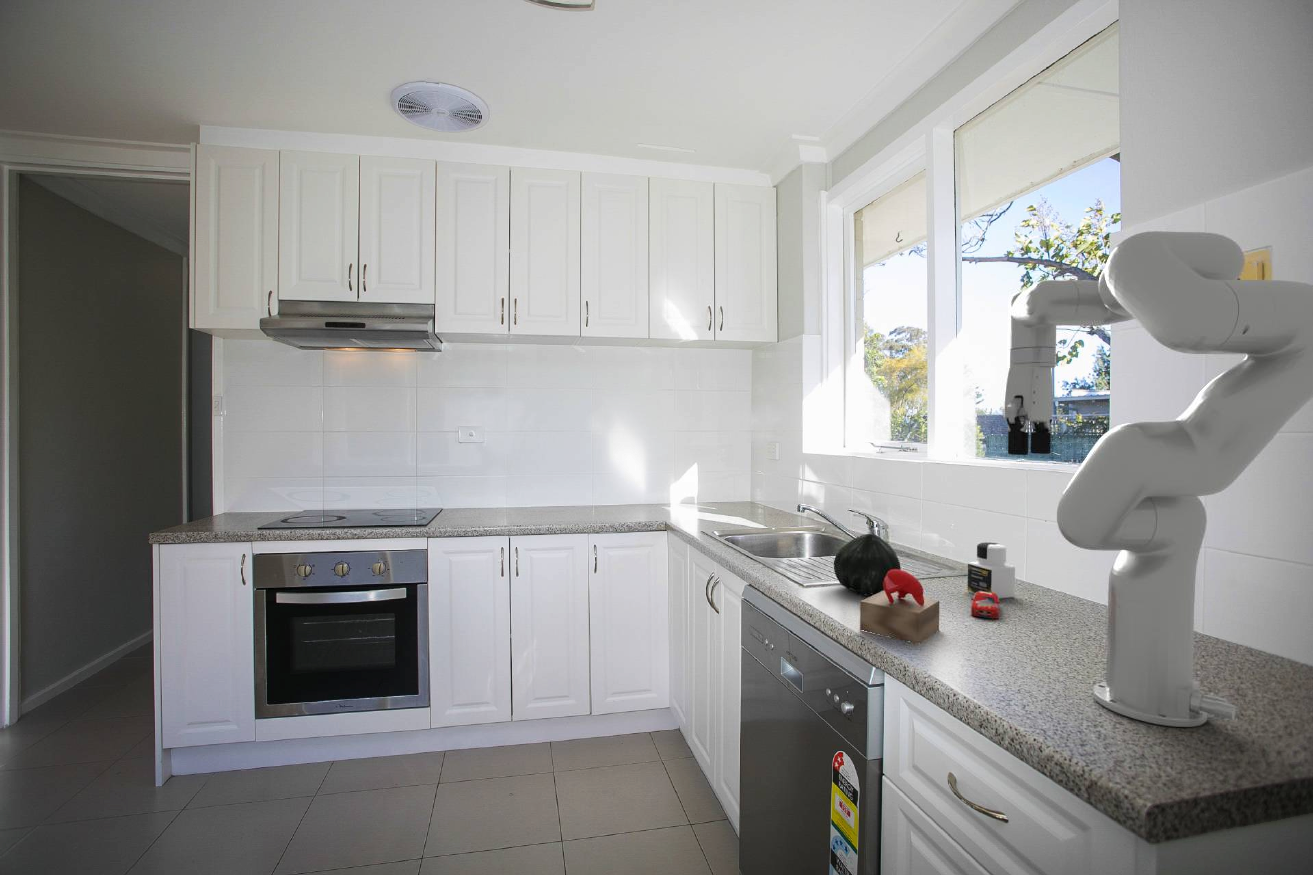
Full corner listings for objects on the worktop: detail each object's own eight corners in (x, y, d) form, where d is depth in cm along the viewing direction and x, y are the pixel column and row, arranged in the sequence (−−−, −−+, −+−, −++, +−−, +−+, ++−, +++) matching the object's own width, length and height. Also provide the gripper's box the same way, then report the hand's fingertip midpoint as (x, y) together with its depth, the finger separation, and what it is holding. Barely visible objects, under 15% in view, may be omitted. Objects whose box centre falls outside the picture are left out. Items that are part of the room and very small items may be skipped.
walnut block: (939, 631, 123) (939, 600, 123) (918, 645, 115) (919, 612, 115) (882, 619, 130) (883, 590, 130) (859, 632, 122) (860, 601, 122)
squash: (855, 558, 163) (840, 518, 155) (914, 569, 154) (902, 527, 145) (834, 602, 156) (818, 563, 148) (896, 617, 146) (881, 576, 138)
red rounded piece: (873, 584, 121) (900, 573, 118) (882, 569, 126) (907, 557, 122) (900, 619, 121) (927, 608, 117) (907, 602, 125) (933, 591, 122)
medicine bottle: (966, 591, 152) (967, 541, 151) (990, 589, 154) (991, 540, 154) (990, 599, 145) (991, 547, 145) (1015, 597, 147) (1016, 545, 147)
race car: (999, 623, 129) (999, 603, 128) (969, 618, 131) (969, 599, 131) (1001, 606, 140) (1001, 588, 140) (973, 603, 143) (974, 585, 143)
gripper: (1028, 364, 124) (1027, 452, 124) (988, 358, 113) (986, 454, 113) (1072, 361, 118) (1070, 454, 118) (1034, 354, 107) (1032, 456, 107)
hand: (1029, 454), depth 116 cm, fingers open, 9 cm apart
